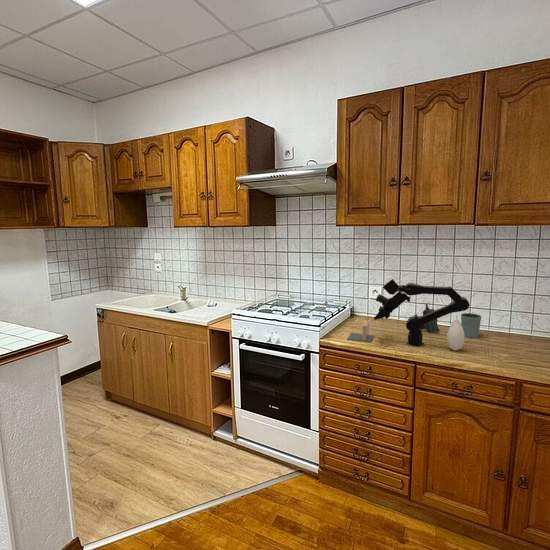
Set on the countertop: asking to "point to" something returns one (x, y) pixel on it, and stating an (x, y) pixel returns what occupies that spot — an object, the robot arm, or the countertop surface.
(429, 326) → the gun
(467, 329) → the grey plant pot
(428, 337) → the countertop surface
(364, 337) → the tile
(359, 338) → the mat
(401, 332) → the countertop surface
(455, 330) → the sauce bottle
